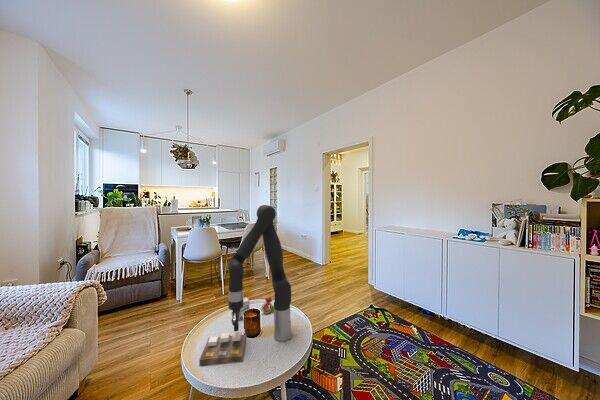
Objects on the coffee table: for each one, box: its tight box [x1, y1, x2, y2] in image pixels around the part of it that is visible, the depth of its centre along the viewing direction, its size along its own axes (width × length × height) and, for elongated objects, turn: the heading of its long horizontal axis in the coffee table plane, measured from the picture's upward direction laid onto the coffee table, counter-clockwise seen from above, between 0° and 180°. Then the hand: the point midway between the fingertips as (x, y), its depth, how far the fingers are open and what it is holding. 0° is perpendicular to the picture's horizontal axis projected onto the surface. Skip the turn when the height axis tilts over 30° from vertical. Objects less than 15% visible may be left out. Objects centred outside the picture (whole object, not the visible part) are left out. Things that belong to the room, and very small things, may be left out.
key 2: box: [232, 331, 242, 341], centre depth 119 cm, size 4×4×2 cm
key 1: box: [208, 336, 219, 346], centre depth 117 cm, size 4×4×2 cm
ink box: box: [239, 297, 250, 322], centre depth 146 cm, size 8×5×12 cm, turn 123°
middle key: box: [220, 332, 231, 342], centre depth 118 cm, size 4×4×2 cm
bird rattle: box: [261, 296, 274, 315], centre depth 151 cm, size 6×11×9 cm
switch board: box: [198, 334, 247, 367], centre depth 116 cm, size 20×16×3 cm
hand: (236, 330), depth 118 cm, fingers closed
